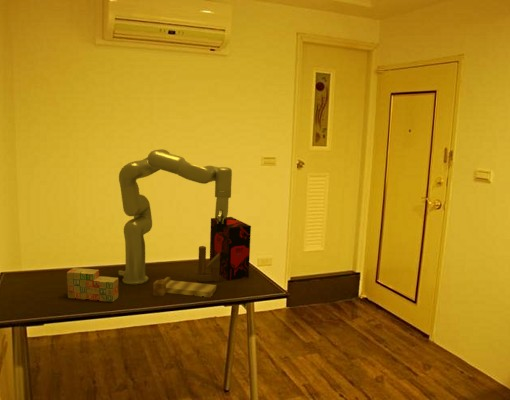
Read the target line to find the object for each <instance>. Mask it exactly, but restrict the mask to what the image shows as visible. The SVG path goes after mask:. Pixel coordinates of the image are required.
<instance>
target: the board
mask: <svg viewBox="0 0 510 400" xmlns="http://www.w3.org/2000/svg"><path fill="white" fill-rule="evenodd" d="M160 280H164V279H162V278H161V279H160ZM216 290H217V284H210V283H203V282H190V281H182V280H181V281H180V280H172V279H170V281H169V282H167V283H166V293H167V294H175V295H177V294H178V295H186V296H193V295H194V296H193V297H202V296H204V298H212V297H213V295H214V294H215V292H216ZM166 293H165V294H166ZM211 296H212V297H211Z"/></svg>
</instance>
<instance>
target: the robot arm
mask: <svg viewBox="0 0 510 400" xmlns="http://www.w3.org/2000/svg"><path fill="white" fill-rule="evenodd" d="M160 170H161V171H165V172H168V173H171V174H174V175H178V177H182V178H183V179H186V180H188V181H192V182H194V183H197V184H198V183H199V184H202V185H203V184H205V185H206V184H208V183H212V182H215V184H214V186H215V187H214V197H215V198H216V200H215V213H214V214H215V215H214V218H216V219H217V218H218V220H217V232H224V227H227V217H228V215H229V199H231V198H232V178H233V177H232V175H233V171H232V168H230V167H225V166H224V167H223V166H220V167H217V166H213V165H207V166H206V165H205V166H200V165H197V164H194V163H190V162H188V161H187V160H186V159H185V158H184V157H183V156H180V155H176V154H172V153H170V151H168V150H167V149H161V148H159V149H154V150H152V151H150V153H149V154H148V156H147V157H146V158H143V159H140V160H134V161H131V162H128V163H127V164H125V165H124V166H123V167H122V168H120V171H119V173H118V181H119V186H120V187H119V188H120V193H121V202H122V207H123V208H122V210H123V212H124V214H125V215H126V216H128V217H133V218H132V219H130V220H128V221H126V223H125V224H124V226H123V236H124V242H125V243H124V245H125V270H118V276H119V277H120V276H121V277H122V280H121V281H122V282H123V283H124V284H127V285H143V284H145V283H147V282H148V281H149V276H147V275H146V241H145V237H144V235H147V233H150V231H151V230H152V229H153V218H152V210H151V209H152V208H151V204H150V201H149V199H148V198H147V196H145V195H144V194H140V188H139V185H138V182H137V180H139V179H143V178H147V177H150V176H151V175H153V174H154V173H156V172H159V171H160Z"/></svg>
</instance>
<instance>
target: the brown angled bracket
mask: <svg viewBox="0 0 510 400" xmlns="http://www.w3.org/2000/svg"><path fill="white" fill-rule="evenodd" d="M206 259H207V246H205V245H200V246H198V266H197V267H198V270H197V271H198V272H197V278H196V279H197V283H205V282H206V283H207V282H208V283H210V282H213V283H214V282H220V275H219V268H220V254H219V253H218V254H217V255H216V256H215V257H214V258H213V259H212V260H211V261H210V260H209V262H207V261H206ZM206 262H207V264H206ZM211 268H212V269H211ZM206 269H211V273H210V272H206Z"/></svg>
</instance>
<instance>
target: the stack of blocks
mask: <svg viewBox="0 0 510 400" xmlns="http://www.w3.org/2000/svg"><path fill="white" fill-rule="evenodd" d="M66 284H67V285H66V286H67V298H68V299H75V298H76V299H77V300H85V299H89V300H88V301H97V300H99V302H106V303H107V302H110V303H113V302H114V301H115V300H117V299H118V298H119V277H111V276H100V270H99V269H95V268H94V269H92V268H91V269H90V268H82V267H81V268H79V267H73V268H71V269H70V270H68V271H67V272H66ZM76 299H75V300H76Z"/></svg>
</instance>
